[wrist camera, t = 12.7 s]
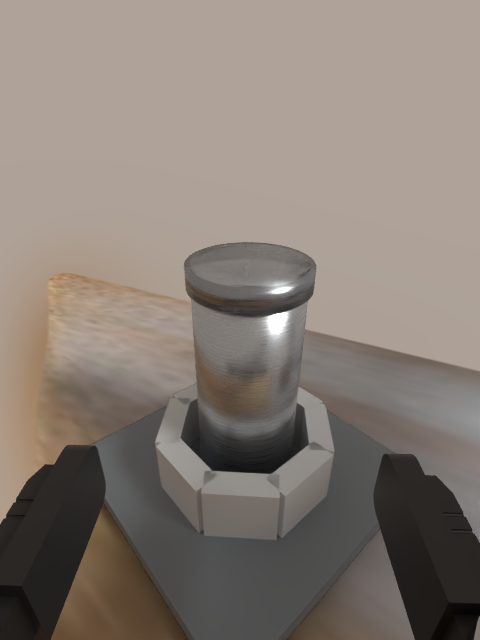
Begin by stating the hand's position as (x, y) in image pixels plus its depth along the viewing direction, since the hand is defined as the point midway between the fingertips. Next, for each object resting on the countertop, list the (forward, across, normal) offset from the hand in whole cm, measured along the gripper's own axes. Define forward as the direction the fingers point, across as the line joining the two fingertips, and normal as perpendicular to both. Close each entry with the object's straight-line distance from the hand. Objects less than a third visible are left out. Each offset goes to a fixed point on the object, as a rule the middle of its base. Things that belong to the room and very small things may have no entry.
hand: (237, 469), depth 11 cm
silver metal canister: (+8, 0, +8) cm, 11 cm away
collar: (+8, 0, +10) cm, 12 cm away
